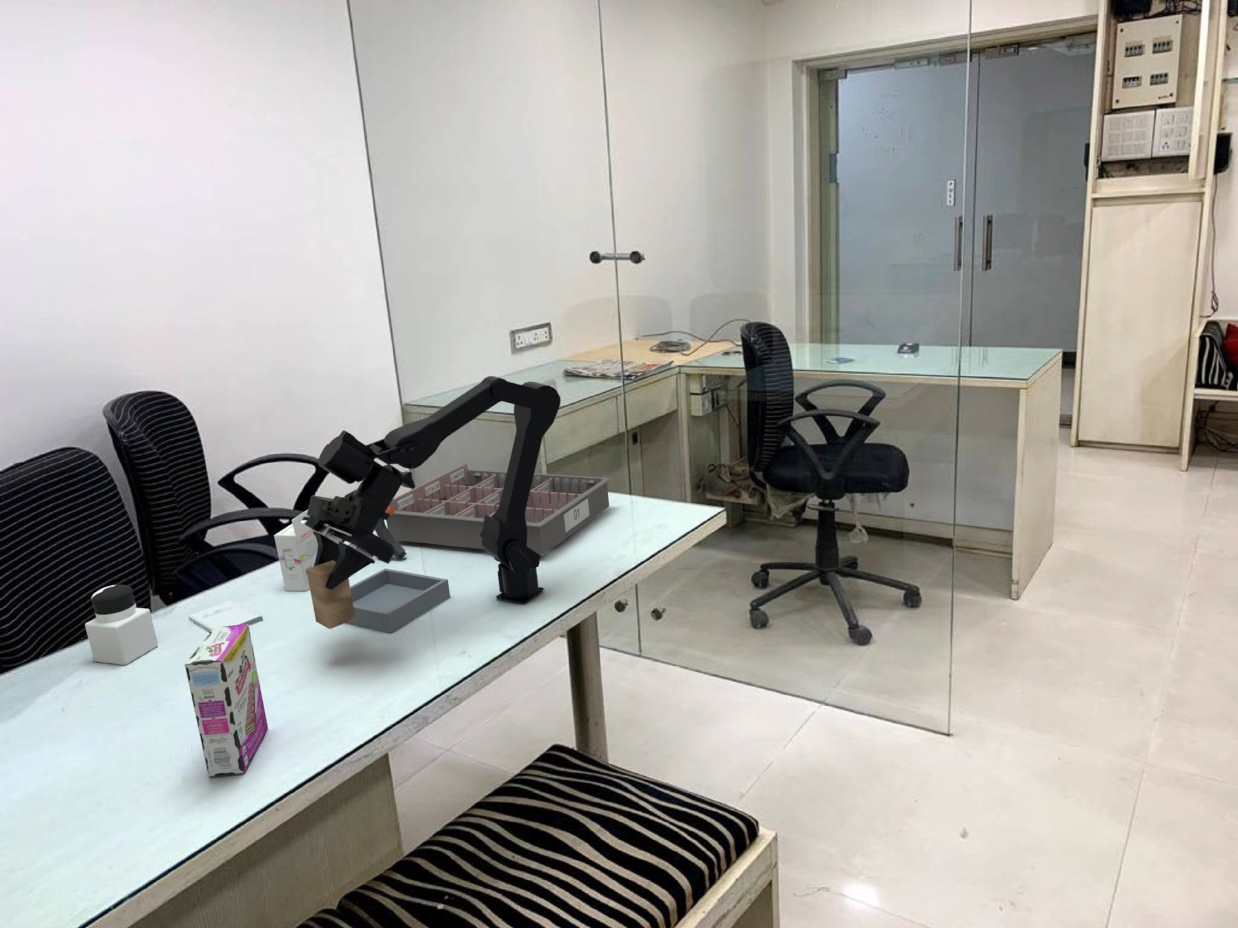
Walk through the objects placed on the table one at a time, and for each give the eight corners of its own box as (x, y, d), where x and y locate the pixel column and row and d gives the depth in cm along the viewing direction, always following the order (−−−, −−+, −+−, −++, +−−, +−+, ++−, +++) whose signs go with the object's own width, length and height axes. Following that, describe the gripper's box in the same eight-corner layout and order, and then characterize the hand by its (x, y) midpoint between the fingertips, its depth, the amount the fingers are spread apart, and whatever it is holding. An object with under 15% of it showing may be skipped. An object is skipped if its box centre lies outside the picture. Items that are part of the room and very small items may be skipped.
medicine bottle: (159, 645, 158) (144, 581, 155) (125, 665, 151) (109, 599, 148) (127, 642, 160) (112, 579, 157) (93, 662, 154) (76, 596, 150)
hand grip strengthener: (403, 561, 188) (392, 492, 184) (350, 559, 191) (338, 491, 187) (408, 557, 190) (398, 489, 186) (356, 555, 193) (344, 488, 189)
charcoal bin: (450, 596, 168) (447, 579, 167) (390, 633, 155) (387, 614, 154) (387, 585, 176) (385, 568, 175) (326, 618, 163) (322, 600, 162)
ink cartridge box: (306, 574, 185) (293, 505, 181) (328, 574, 184) (316, 505, 180) (283, 591, 177) (269, 520, 173) (306, 591, 176) (293, 519, 172)
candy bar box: (247, 774, 118) (222, 660, 114) (207, 779, 118) (181, 665, 113) (271, 727, 129) (249, 621, 124) (235, 731, 129) (212, 625, 124)
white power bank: (219, 640, 159) (189, 623, 168) (264, 623, 165) (233, 606, 173) (217, 632, 159) (187, 615, 167) (262, 615, 165) (231, 599, 173)
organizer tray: (544, 563, 181) (539, 516, 178) (385, 546, 198) (378, 502, 195) (614, 511, 208) (610, 469, 206) (468, 499, 226) (463, 461, 223)
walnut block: (341, 611, 149) (332, 560, 146) (355, 618, 146) (346, 566, 143) (316, 621, 146) (306, 569, 143) (329, 629, 143) (319, 575, 140)
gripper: (306, 465, 148) (253, 549, 144) (364, 483, 135) (308, 576, 131) (357, 498, 156) (308, 579, 151) (417, 518, 143) (365, 607, 138)
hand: (320, 584), depth 143 cm, fingers closed on walnut block, 4 cm apart
